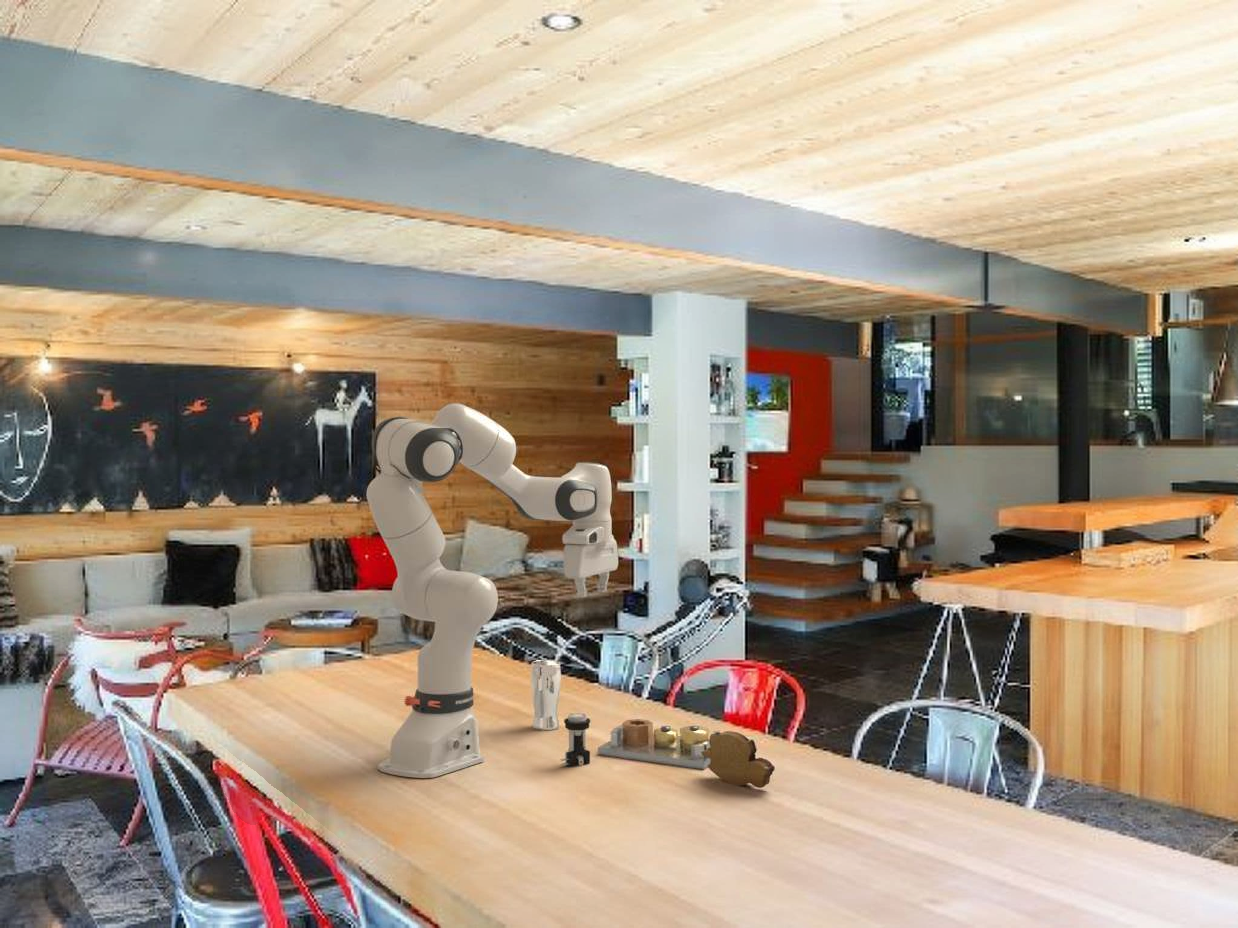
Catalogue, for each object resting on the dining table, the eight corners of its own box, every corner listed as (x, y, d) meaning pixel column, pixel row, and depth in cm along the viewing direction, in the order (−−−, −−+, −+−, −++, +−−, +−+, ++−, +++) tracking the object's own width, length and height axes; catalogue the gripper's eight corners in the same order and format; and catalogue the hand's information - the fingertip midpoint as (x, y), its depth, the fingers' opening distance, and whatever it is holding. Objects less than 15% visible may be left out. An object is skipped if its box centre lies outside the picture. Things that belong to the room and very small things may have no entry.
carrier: (704, 769, 221) (704, 739, 221) (598, 754, 232) (598, 725, 232) (732, 749, 235) (732, 721, 235) (630, 736, 246) (630, 708, 246)
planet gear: (644, 746, 232) (644, 727, 232) (619, 743, 235) (619, 724, 235) (656, 739, 238) (656, 720, 238) (630, 736, 240) (630, 718, 240)
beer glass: (563, 723, 257) (563, 659, 257) (558, 731, 250) (558, 665, 250) (533, 722, 258) (533, 659, 258) (528, 730, 251) (528, 665, 251)
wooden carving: (780, 789, 209) (780, 736, 208) (766, 795, 205) (767, 741, 205) (709, 772, 219) (709, 722, 219) (695, 777, 216) (695, 726, 216)
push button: (568, 770, 220) (568, 720, 220) (553, 764, 225) (553, 715, 224) (595, 764, 224) (595, 715, 224) (580, 758, 229) (580, 710, 228)
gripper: (600, 529, 261) (600, 588, 261) (558, 536, 242) (558, 599, 243) (624, 530, 258) (624, 589, 258) (583, 537, 240) (583, 600, 240)
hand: (592, 594), depth 250 cm, fingers open, 8 cm apart
